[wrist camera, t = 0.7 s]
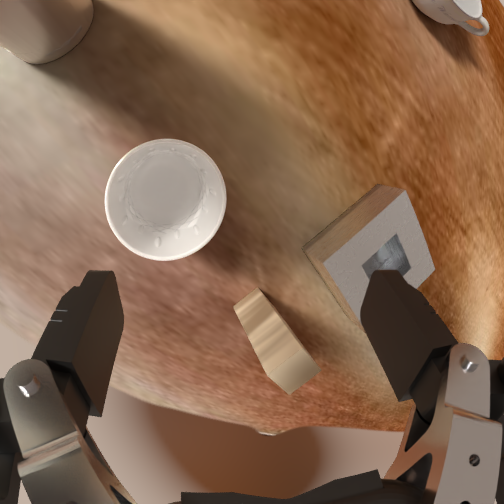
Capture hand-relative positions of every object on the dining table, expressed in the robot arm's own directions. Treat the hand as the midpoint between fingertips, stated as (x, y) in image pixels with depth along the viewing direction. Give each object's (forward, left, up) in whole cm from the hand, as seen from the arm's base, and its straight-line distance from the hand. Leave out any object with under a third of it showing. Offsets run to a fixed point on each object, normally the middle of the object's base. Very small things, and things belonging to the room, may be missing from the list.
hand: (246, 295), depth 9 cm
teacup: (-4, +44, -22) cm, 49 cm away
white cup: (-2, -1, -22) cm, 22 cm away
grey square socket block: (+18, +12, -22) cm, 30 cm away
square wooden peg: (+14, -2, -22) cm, 26 cm away
